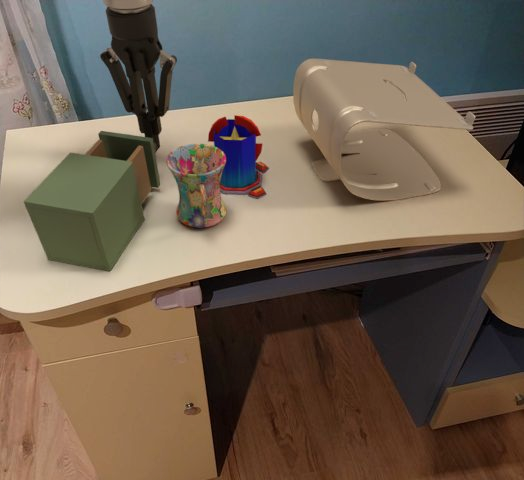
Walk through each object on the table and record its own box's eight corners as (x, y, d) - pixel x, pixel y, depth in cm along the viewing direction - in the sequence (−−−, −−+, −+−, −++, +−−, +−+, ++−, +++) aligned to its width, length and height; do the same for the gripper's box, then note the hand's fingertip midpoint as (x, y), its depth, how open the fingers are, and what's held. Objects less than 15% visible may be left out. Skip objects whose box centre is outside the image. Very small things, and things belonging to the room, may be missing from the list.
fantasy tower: (200, 196, 89) (194, 131, 79) (208, 161, 96) (203, 98, 87) (266, 199, 88) (267, 134, 79) (269, 163, 96) (271, 100, 87)
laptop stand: (288, 140, 101) (293, 58, 89) (393, 125, 106) (411, 45, 94) (334, 212, 86) (347, 125, 74) (454, 192, 90) (485, 106, 78)
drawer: (122, 164, 93) (112, 118, 87) (169, 172, 92) (162, 125, 85) (80, 217, 83) (64, 169, 76) (132, 226, 82) (121, 178, 75)
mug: (172, 203, 87) (163, 146, 79) (224, 197, 89) (220, 140, 80) (179, 246, 80) (171, 188, 72) (236, 239, 81) (234, 181, 73)
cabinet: (87, 209, 86) (70, 152, 78) (144, 219, 84) (132, 161, 76) (47, 259, 78) (23, 201, 69) (110, 271, 76) (92, 213, 68)
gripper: (177, 1, 78) (192, 144, 96) (101, -7, 80) (130, 135, 98) (160, 17, 73) (179, 164, 91) (79, 9, 75) (114, 154, 93)
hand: (154, 149), depth 95 cm, fingers closed
